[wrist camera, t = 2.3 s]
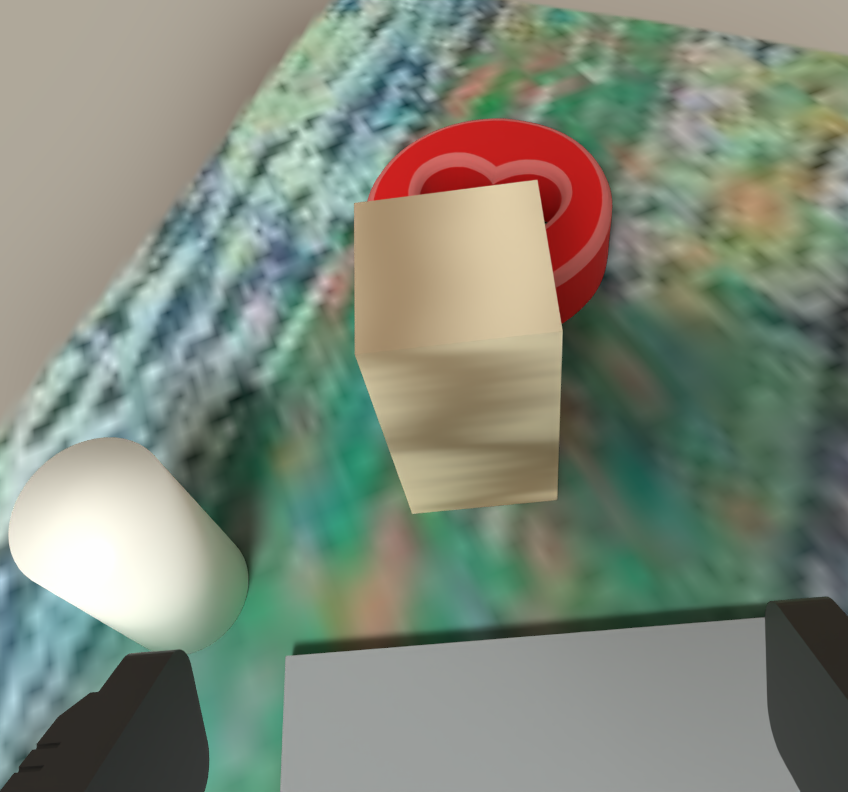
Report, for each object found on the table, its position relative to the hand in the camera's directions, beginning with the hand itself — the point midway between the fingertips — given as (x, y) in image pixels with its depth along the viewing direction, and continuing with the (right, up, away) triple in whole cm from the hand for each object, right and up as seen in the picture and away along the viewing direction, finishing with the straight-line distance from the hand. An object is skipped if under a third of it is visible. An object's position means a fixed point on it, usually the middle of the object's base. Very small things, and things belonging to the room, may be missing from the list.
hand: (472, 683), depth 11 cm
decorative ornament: (+2, +10, +23) cm, 25 cm away
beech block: (+1, +2, +18) cm, 18 cm away
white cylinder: (-9, -3, +17) cm, 19 cm away
